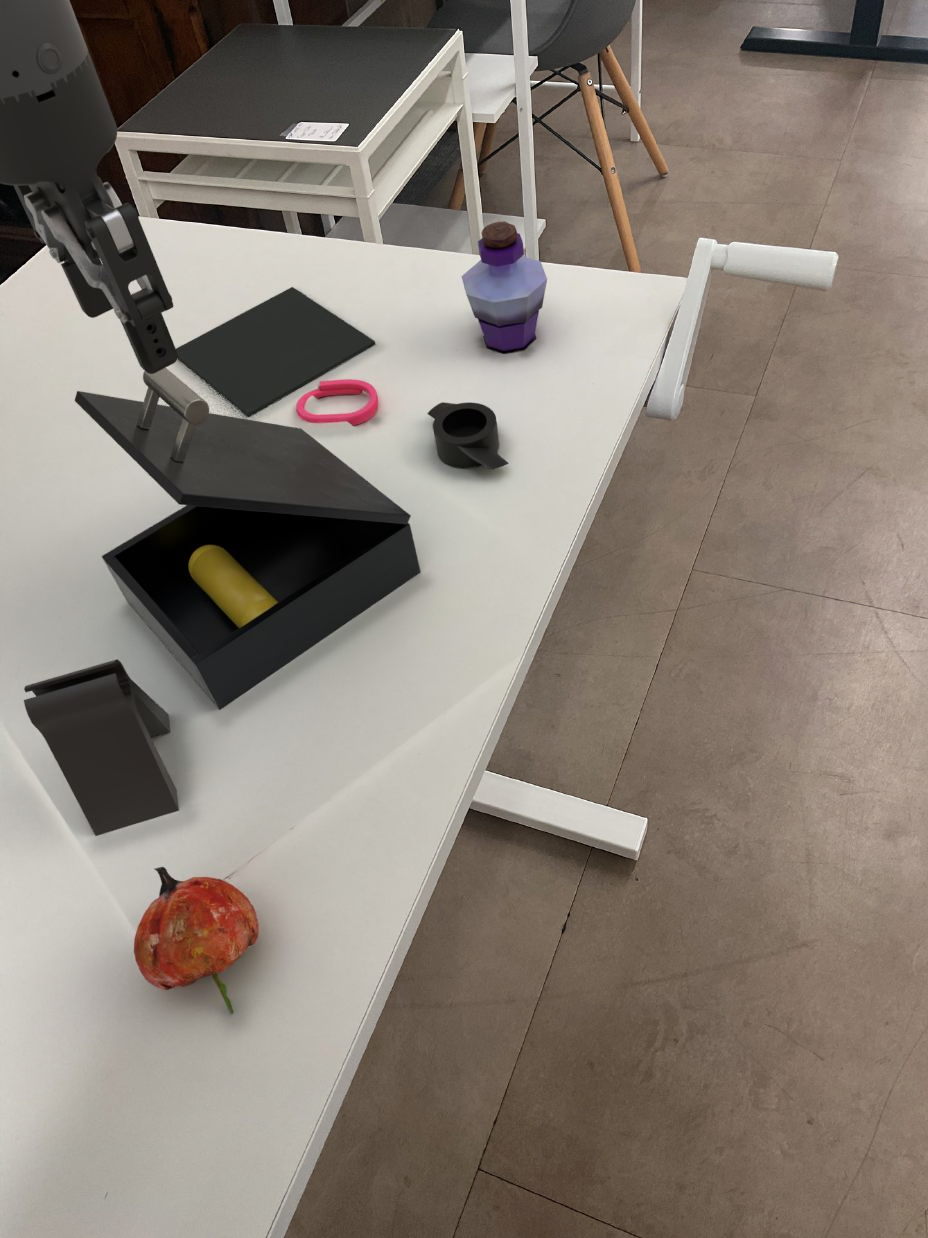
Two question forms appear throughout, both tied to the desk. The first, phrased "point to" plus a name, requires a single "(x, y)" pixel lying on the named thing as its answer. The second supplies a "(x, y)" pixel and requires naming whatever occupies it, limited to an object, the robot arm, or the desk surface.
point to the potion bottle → (505, 289)
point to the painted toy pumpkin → (193, 932)
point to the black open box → (281, 563)
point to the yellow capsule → (229, 584)
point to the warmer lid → (233, 457)
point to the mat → (272, 350)
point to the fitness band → (336, 389)
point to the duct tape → (466, 435)
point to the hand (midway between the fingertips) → (131, 337)
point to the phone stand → (105, 744)
